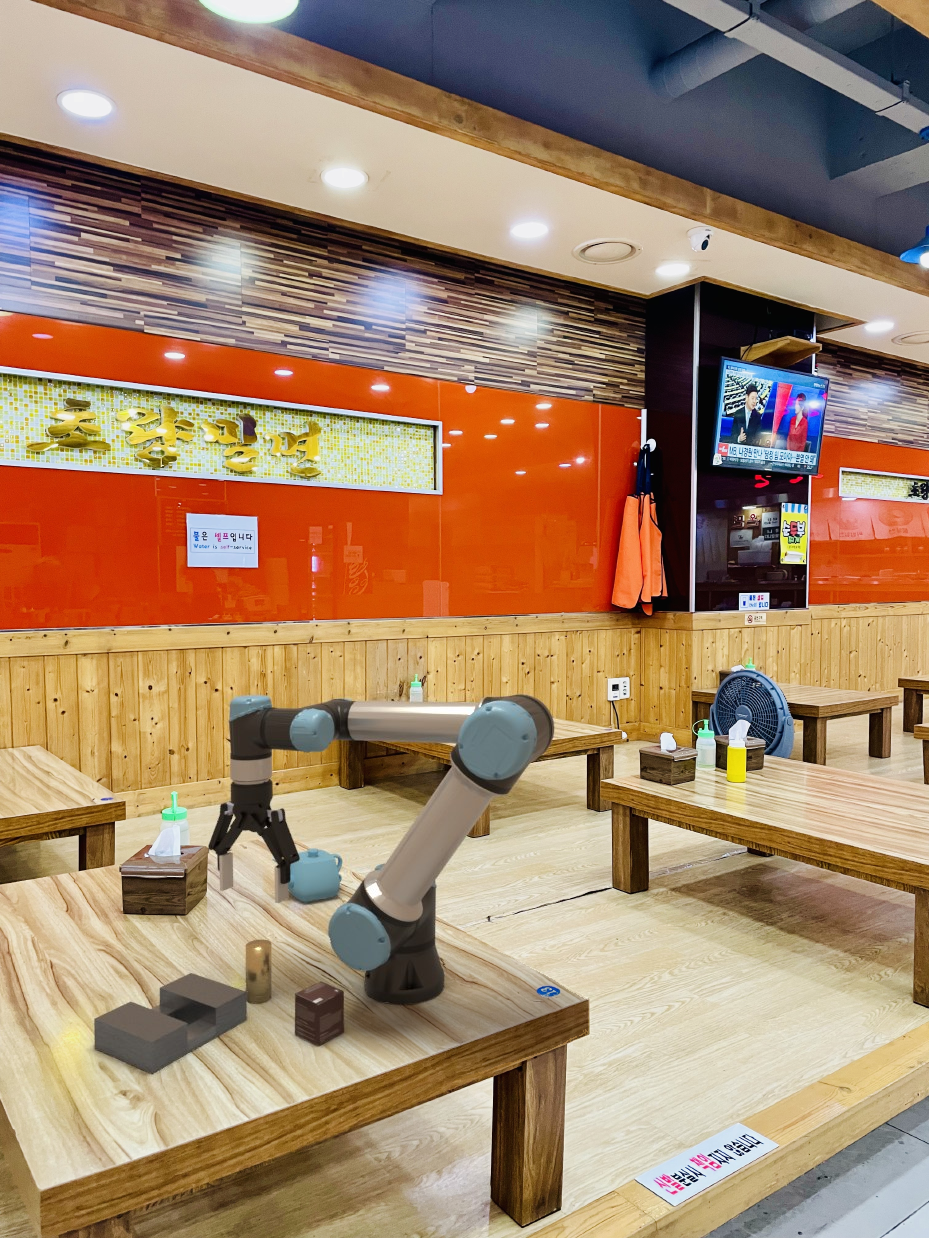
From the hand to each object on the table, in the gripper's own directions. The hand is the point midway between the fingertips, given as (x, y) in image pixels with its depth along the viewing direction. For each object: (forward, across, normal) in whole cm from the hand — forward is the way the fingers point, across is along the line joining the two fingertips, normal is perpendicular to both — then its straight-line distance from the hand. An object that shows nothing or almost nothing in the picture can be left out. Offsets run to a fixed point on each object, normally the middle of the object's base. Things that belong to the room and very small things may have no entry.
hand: (253, 894), depth 160 cm
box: (+19, -19, +5) cm, 28 cm away
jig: (+19, +2, +17) cm, 26 cm away
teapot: (+19, +26, -45) cm, 55 cm away
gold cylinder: (+19, -1, 0) cm, 19 cm away
